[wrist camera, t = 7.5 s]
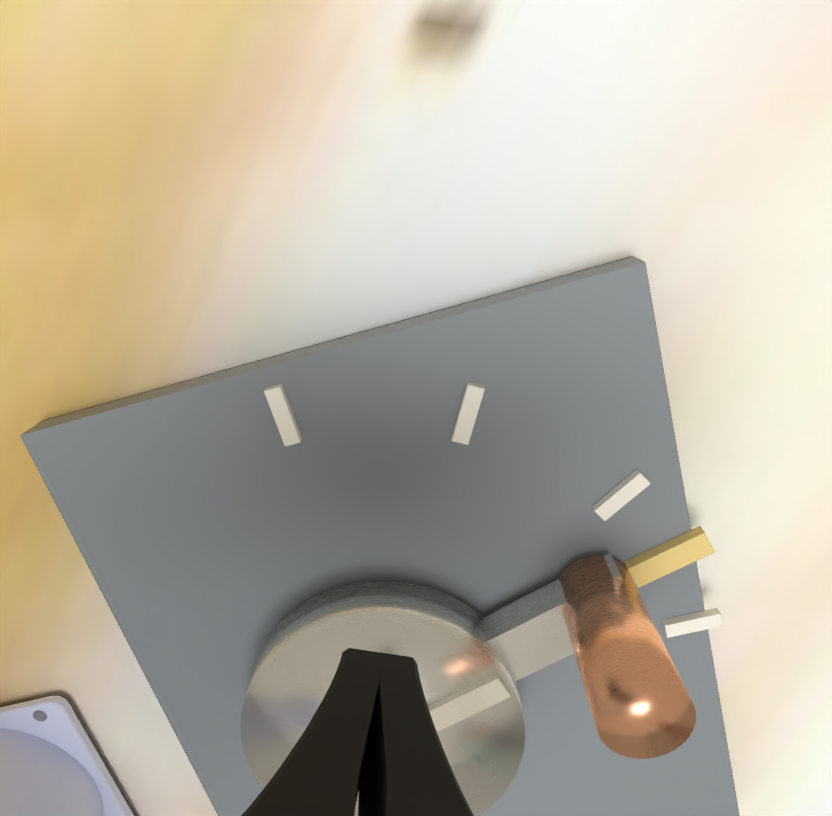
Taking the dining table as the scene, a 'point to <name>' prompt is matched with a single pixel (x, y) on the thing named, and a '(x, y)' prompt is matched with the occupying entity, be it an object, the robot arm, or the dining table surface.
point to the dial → (477, 669)
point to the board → (406, 517)
